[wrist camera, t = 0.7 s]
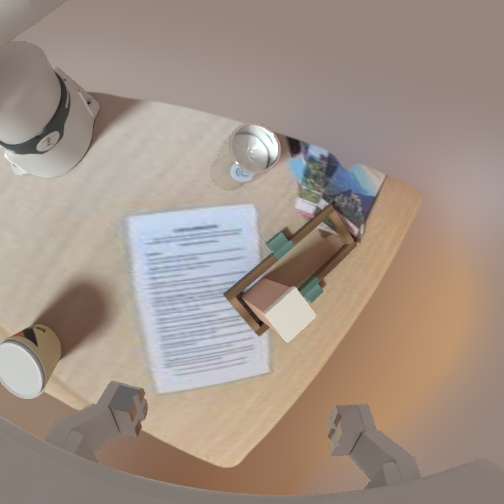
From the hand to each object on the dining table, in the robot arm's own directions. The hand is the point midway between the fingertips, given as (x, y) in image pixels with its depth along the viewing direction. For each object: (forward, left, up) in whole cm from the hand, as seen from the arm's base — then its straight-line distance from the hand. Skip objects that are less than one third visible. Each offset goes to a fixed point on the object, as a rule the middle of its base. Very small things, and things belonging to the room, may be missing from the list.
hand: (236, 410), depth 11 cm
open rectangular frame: (+11, +17, -37) cm, 42 cm away
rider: (+11, +9, -37) cm, 40 cm away
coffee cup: (-7, -26, -37) cm, 46 cm away
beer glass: (-9, +18, -37) cm, 42 cm away
